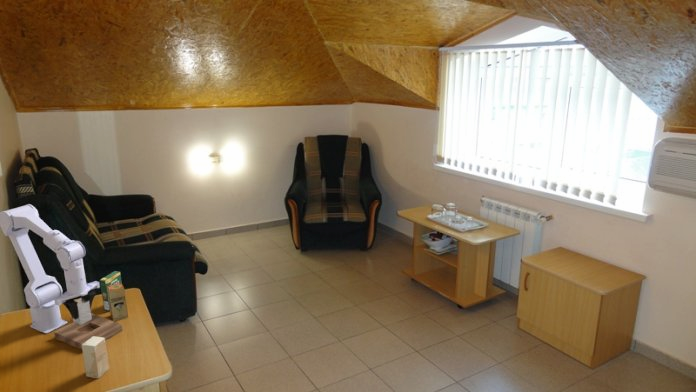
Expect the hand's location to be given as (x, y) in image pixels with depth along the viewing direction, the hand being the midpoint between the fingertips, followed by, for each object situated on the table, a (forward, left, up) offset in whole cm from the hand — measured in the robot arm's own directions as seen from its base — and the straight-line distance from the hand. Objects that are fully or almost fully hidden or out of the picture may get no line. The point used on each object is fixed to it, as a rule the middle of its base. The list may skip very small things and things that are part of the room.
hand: (81, 314), depth 162 cm
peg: (0, 0, -2) cm, 2 cm away
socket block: (-1, +2, -9) cm, 9 cm away
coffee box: (-10, +19, -9) cm, 23 cm away
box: (+20, -10, -9) cm, 24 cm away
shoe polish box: (-2, +15, -9) cm, 18 cm away
